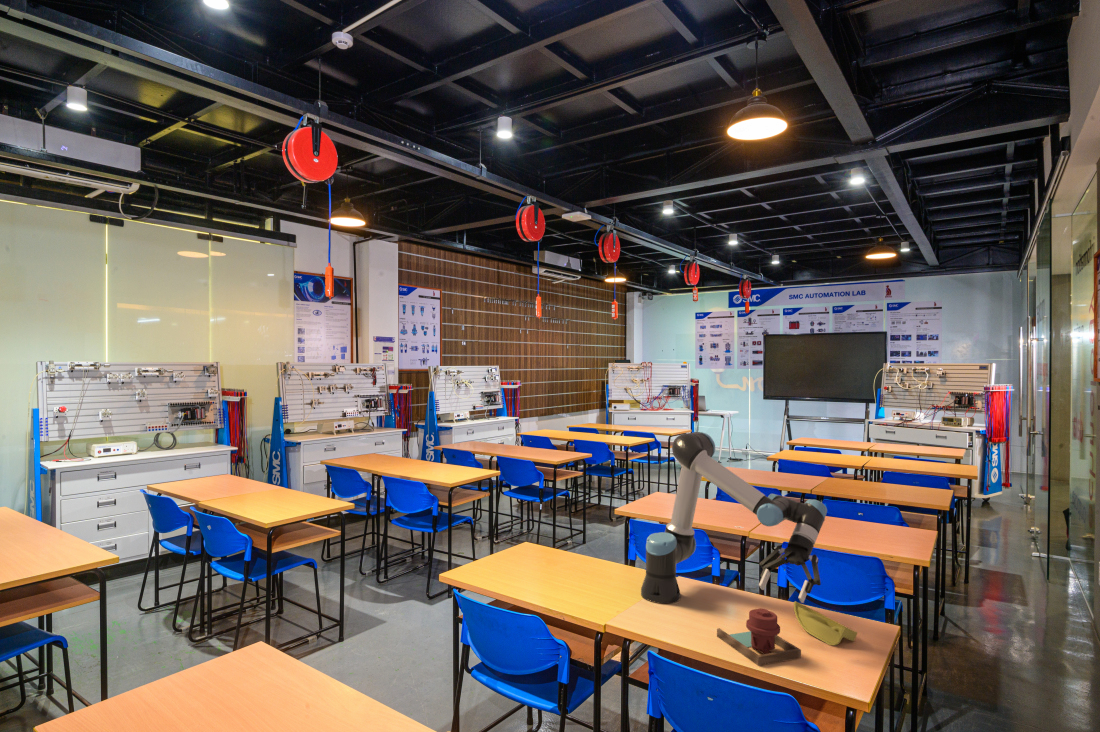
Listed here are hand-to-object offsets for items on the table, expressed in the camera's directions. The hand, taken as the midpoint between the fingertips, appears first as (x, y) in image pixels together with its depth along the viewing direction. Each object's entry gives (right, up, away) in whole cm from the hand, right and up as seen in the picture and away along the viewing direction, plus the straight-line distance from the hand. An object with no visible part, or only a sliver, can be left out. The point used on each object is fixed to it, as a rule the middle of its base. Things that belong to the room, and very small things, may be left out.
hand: (780, 593), depth 181 cm
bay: (-9, -15, -5) cm, 18 cm away
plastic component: (+17, -16, +7) cm, 25 cm away
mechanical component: (-9, -15, -7) cm, 19 cm away
